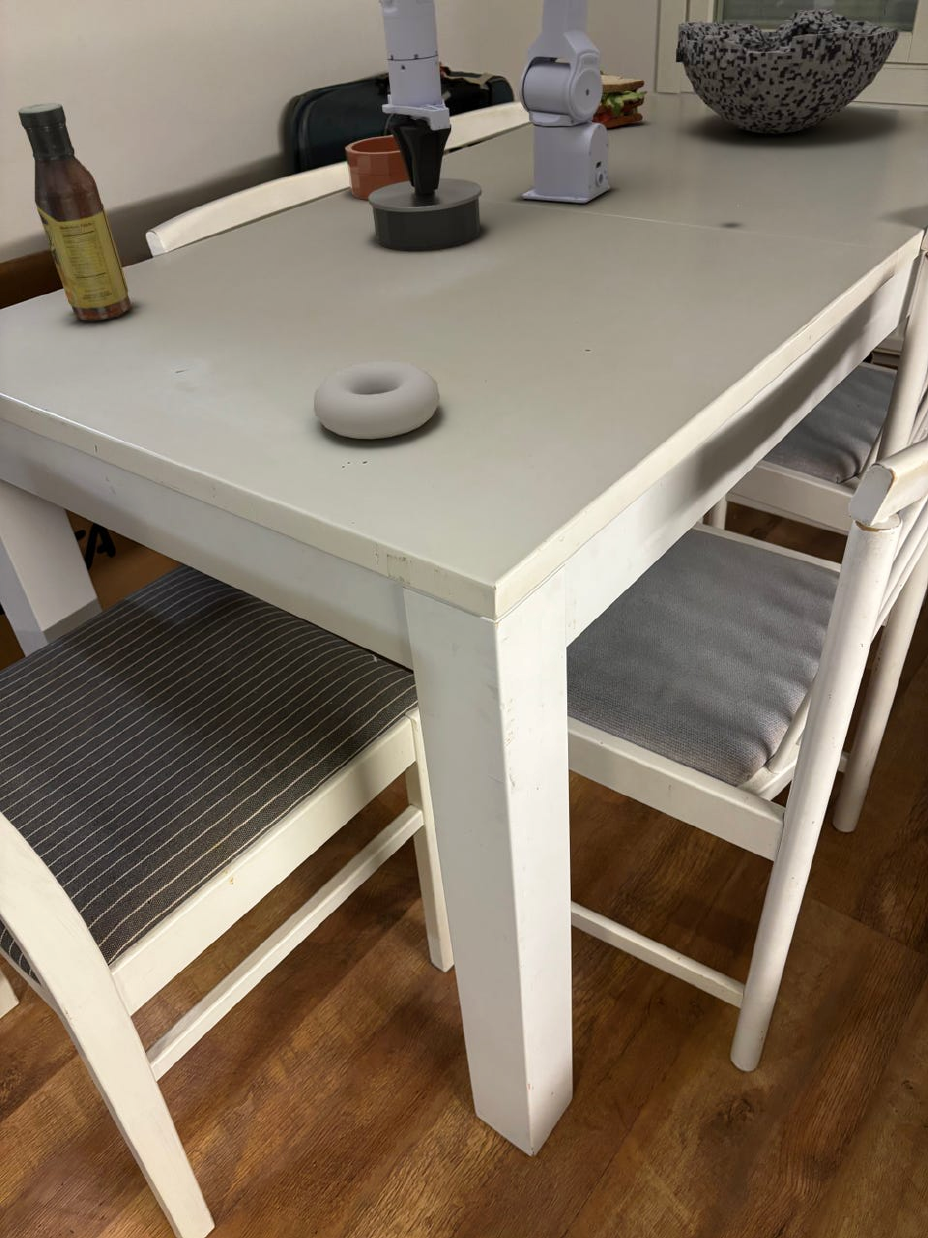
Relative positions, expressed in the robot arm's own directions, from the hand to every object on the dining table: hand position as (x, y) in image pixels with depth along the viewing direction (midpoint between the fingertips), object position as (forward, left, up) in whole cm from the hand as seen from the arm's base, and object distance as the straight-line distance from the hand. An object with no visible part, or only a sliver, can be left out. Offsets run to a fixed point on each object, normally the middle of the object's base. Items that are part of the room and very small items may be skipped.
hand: (424, 187), depth 114 cm
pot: (+18, -18, -6) cm, 26 cm away
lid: (0, 0, -1) cm, 1 cm away
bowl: (-22, -67, -6) cm, 71 cm away
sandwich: (+9, -65, -1) cm, 65 cm away
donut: (-25, +45, -6) cm, 52 cm away
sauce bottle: (+18, +36, -6) cm, 41 cm away
